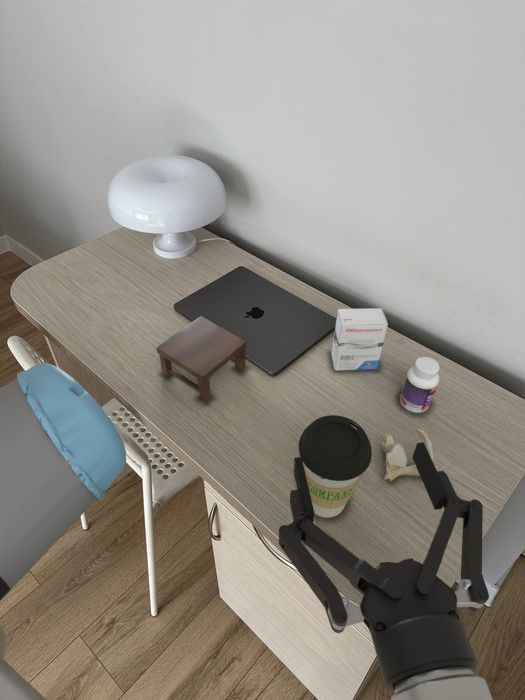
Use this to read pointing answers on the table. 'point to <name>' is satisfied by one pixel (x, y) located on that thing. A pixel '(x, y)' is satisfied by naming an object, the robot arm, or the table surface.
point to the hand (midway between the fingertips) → (358, 456)
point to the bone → (402, 455)
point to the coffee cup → (333, 461)
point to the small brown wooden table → (201, 353)
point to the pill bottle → (420, 385)
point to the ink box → (358, 338)
